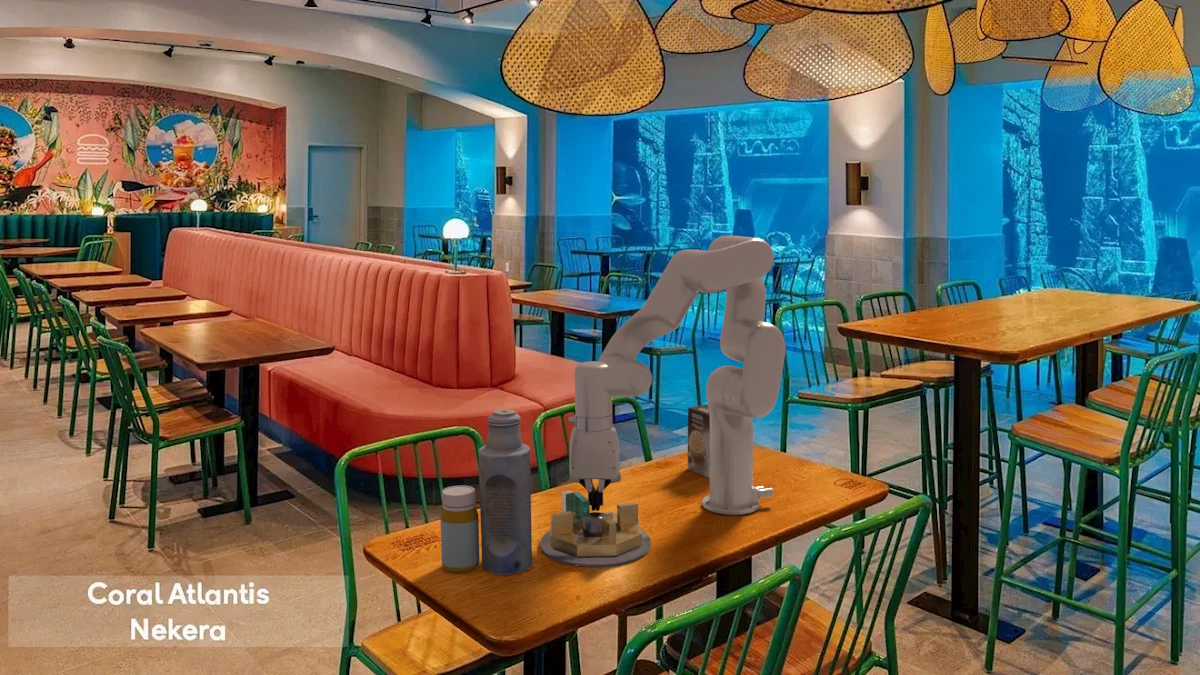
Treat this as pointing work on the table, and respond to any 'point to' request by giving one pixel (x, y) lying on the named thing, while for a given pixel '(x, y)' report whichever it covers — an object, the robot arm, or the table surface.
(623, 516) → the wooden castle nut
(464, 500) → the bottle
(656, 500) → the table surface
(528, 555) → the bottle
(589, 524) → the hub
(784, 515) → the table surface
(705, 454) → the coffee box
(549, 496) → the table surface
